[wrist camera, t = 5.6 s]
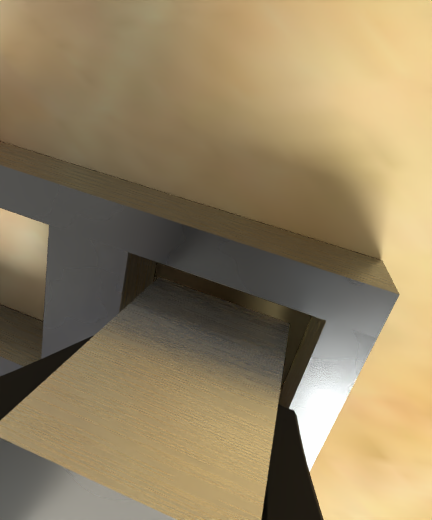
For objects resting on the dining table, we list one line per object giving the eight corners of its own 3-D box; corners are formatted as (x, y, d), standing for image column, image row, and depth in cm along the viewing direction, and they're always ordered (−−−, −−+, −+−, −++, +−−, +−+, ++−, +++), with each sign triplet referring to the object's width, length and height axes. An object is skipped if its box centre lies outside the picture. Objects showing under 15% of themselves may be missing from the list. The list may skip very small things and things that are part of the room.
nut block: (138, 380, 12) (-11, 584, 7) (158, 276, 11) (-13, 431, 5) (250, 425, 11) (189, 692, 6) (289, 323, 10) (255, 555, 4)
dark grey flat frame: (-53, 307, 16) (-112, 335, 14) (-66, 120, 13) (-144, 118, 11) (294, 448, 13) (289, 510, 11) (381, 260, 10) (399, 294, 8)
